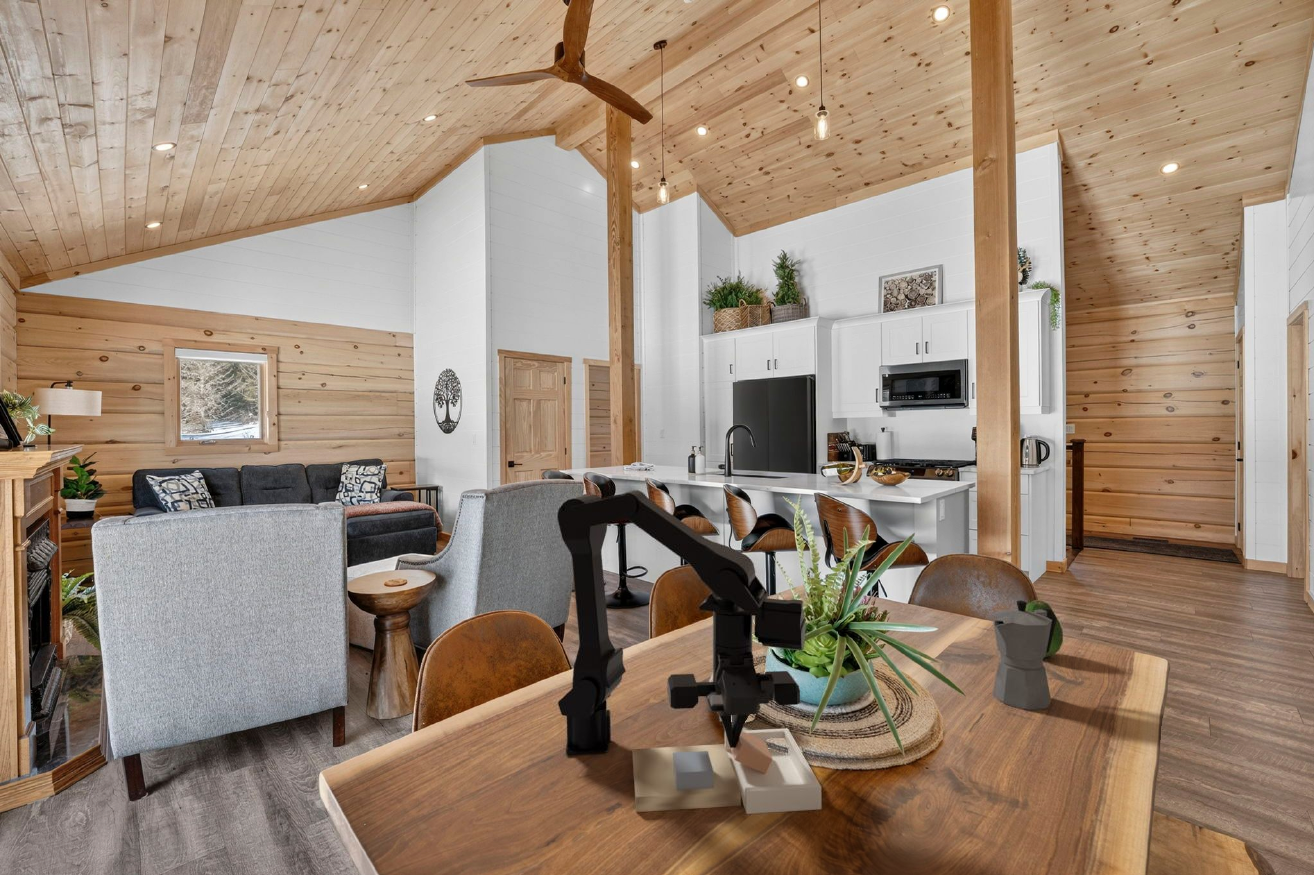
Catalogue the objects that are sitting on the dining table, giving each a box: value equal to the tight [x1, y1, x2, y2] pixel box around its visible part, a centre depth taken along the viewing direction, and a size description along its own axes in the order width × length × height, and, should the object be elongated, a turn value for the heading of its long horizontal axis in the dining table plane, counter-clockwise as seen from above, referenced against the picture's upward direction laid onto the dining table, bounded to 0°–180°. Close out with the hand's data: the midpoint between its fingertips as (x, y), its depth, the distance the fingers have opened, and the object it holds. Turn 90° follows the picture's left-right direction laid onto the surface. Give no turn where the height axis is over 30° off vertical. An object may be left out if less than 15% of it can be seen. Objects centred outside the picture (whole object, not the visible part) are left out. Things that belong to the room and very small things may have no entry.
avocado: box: [1025, 599, 1064, 658], centre depth 133 cm, size 8×8×12 cm
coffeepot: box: [991, 599, 1058, 711], centre depth 113 cm, size 15×9×18 cm, turn 113°
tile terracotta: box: [730, 730, 772, 774], centre depth 92 cm, size 5×5×2 cm
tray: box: [724, 727, 822, 815], centre depth 90 cm, size 10×16×3 cm, turn 4°
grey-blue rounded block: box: [673, 751, 713, 790], centre depth 86 cm, size 5×5×2 cm
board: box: [632, 743, 742, 813], centre depth 89 cm, size 14×12×2 cm
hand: (732, 746), depth 92 cm, fingers closed
